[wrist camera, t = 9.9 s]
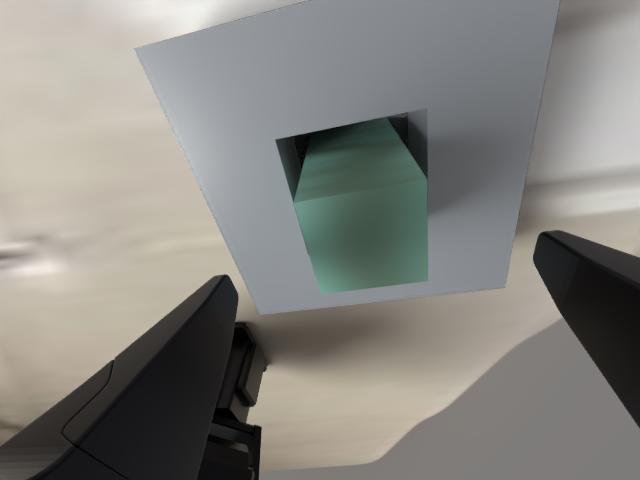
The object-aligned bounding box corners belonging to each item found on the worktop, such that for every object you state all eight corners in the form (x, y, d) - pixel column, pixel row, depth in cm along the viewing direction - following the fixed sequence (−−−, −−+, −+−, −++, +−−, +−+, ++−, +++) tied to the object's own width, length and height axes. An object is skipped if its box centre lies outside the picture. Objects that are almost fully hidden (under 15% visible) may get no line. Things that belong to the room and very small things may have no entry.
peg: (326, 199, 18) (320, 294, 11) (311, 133, 16) (293, 202, 9) (392, 188, 17) (428, 281, 11) (387, 117, 15) (427, 178, 8)
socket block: (271, 272, 21) (259, 315, 18) (182, 46, 14) (134, 48, 10) (475, 245, 19) (504, 287, 16) (506, -42, 12) (574, -74, 8)
